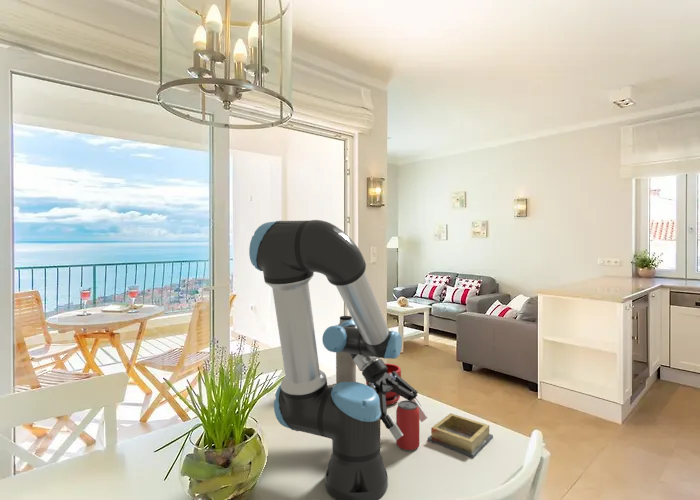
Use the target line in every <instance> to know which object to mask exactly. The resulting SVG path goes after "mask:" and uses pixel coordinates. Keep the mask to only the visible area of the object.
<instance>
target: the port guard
mask: <svg viewBox="0 0 700 500" xmlns="http://www.w3.org/2000/svg"><path fill="white" fill-rule="evenodd" d="M430 430H431V435H429V436H428V437H427V441H428V442H430V443H433V444H435V445H439V446H441V447H444V448H446V449H448V450H452V451H453V452H456V453H459V454H462V455H464V456H468V457H469V458H472V459H474V458H475V457H476V456H477V455H478V454H479V453H480V452H481V451H482V450H483V448H485V446H486V445H488V443H489V442H491V441H492V439H494V435H493V434H490V425H489V424H486V423H484V422H480V421H476V420H474V419H471V418H467V417H464V416H461V415H458V414H455V413H449V414H447V415H446V416H445V417H444V418H442V419H441V420H440V421H439V422H437V423H436V424H434V425H433V426H432V427H431V428H430Z"/></svg>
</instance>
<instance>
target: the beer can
mask: <svg viewBox="0 0 700 500" xmlns="http://www.w3.org/2000/svg"><path fill="white" fill-rule="evenodd" d="M417 406H418V405H417V403H415V402H413V401H409V400H407V399H405V400H401V401H399V402H398V403H397V408H396V410H395V411H396V412H395V416H396V417H395V420H396V421H395V422H396V424H397V426H398V427H399V429H400V430H401V432H402V433H403V436H401V437H400V438H399V439H398V440H395V441H396V442H395V443H396V445H397V447H398V448H399V449H401V450H403V451H408V452H409V451H415V450H417V449H418V448H419V446H420V419H419V409H418V407H417Z"/></svg>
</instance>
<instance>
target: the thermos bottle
mask: <svg viewBox="0 0 700 500" xmlns="http://www.w3.org/2000/svg"><path fill="white" fill-rule="evenodd" d="M348 320H353V318H352V316H351V315H341V316H339V323H338V324H337V325H338V326H340V325H341V324H342V323H343V322H345V321H348ZM356 366H357V365H356V363H355V362H354V360H353V359H352V358H351V356H350V355H349V353H343V352H339V353H336V352H335V372H336V373H335V374H336V375H335V377H336V378H335V382H336V384H338V383H340V382H357V367H356ZM336 384H335V385H336Z"/></svg>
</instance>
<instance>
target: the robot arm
mask: <svg viewBox="0 0 700 500" xmlns="http://www.w3.org/2000/svg"><path fill="white" fill-rule="evenodd" d="M248 250H249V253H248V256H249V260H250V262H251V265H252V266H253V267H254V268H255V269H256V270H258V271H259V272H262V273H263V278H264V279H263V280H264V283H265V284H266V285H268V286H269V287H271V289H272V297H273V301H274V302H273V303H274V308H275V315H276V323H277V330H278V335H279V341H280V343H279V344H280V348H281V356H282V363H283V368H284V374H285V376H284V377H283V378H282V379H281V380H280V384H279V386H278V388H276V391H275V393H274V396H275V399H274V400H273V411H274V415H275V418H276V420H277V421H278V423H279V424H280V425H281V426H283V427H285V428H287V429H290V430H292V431H295V432H302V433H306V434H311V435H314V436H319V437H323V438H328V439H331V443H332V444H331V445H332V446H331V447H332V448H331V449H332V450H331V451H332V452H331V456H330V458H329V462H328V465H327V469H326V472H325V477H324V478H325V481H324V484H325V490H326V491H327V493H328V495H330V496H331V498H333V499H335V500H379V499H380V498H382V497H383V496H384V494H385V493H386V492H387V490H388V488H389V487H388V486H389V485H388V484H389V483H388V480H389V479H388V478H389V476H388V472H387V469H386V467H385V464H384V461H383V457H382V454H381V421H382V423H383V425H384V426H385V428H386V429H387V430H389V432H390V433H391V435H392V437H393V438H394V439H395V441H396V440H398V439H399V438H400V437H401V436H403V433H402V432H401V430H400V429H399V427H398V426H397V424H396V421H395V420H394V418H393V416H392V415H391V413H388V411H387V405H386V396H385V394H386V393H388V392H390V391H391V392H395V393H396V394H398V395H400V397H401V398H404V399H405V400H408V401H413V402H415V403H417V405H418V406H417V407H418V409H419V422H421V423H423V422H424V421H425V420H427V419H428V418H429V415H428V414H427V413H426V411H425V410H424V409H423V407H422V405H421V403H420V402H419V400H418V399H417V397H418V391H417V390H416V389H415V388H414V387H413V386H412V385H410V384H409V383H408V382H407V381H405V379H403V378H402V376H401V377H399V375H398V374H397V373H396V372H395V371H393V372H392V373H391V374H390V375H389V374H388V373H387V366H386V365H385V364H386V362H384V360H386V359H390V360H391V359H392V360H395V359H398V358H399V356H400V354H401V352H402V347H403V340H402V335H401V334H400V332H398V331H394V330H389V328H388V325H387V322H386V321H385V318H384V316H383V313H382V311H381V309H380V306H379V303H378V301H377V298H376V296H375V293H374V291H373V290H372V289H373V288H372V285H371V284H370V282H369V279H368V277H367V274H366V269H367V263H366V261H365V258H364V255H363V254H362V252H361V250H360V248H359V247H358V246H357V244H356V243H355V242H354V241H353V239H352V238H351V237H350V236H349V235H348V234H347V233H345V232H344V231H343V230H342V229H340V227H338V226H336V225H334V224H333V223H331V222H328V221H325V220H320V219H312V220H275V221H267V222H264V223H262V224H261V225H260V226H258V227H257V228H256V229H255V231H254V233H253V235H252V236H251V240H250V242H249V248H248ZM314 273H319V274H321V275H324V276H325V277H326V279H327V281H328V282H329V283H330V284H331V285H333V286H335V287H336V289H337V292H338V293H339V295H340V296H341V298H342V299H341V300H342V302H344V304H345V306H346V308H347V310H348V313H349V315H350V316H351V317H352V319H351V320H348V321H345V322H343V323H342V324H341V325H340V326H338V324H336V325H331V326H328V327H326V329H325V330H324V332H323V334H322V337H321V338H322V344H323V345H322V346H323V347H324V348H325V349H326V351H329V352H330V353H331V352H332V353H335V354H336V353H339V352H343V353H349V355H350V356H351V358H352V359H353V360H354V362H355V363H356V366H357V367H356V368H358V369H359V371H361V375H362V377H363V378H364V380H365V382H366V381H367V382H368V383H369V384H365V383H361V382H357V381H356V382H340V383H338V384H334V386H329V385H328V379H327V375H326V373H325V372H324V371H323V370H321V369H320V365H319V356H318V349H317V340H316V333H315V325H314V316H313V309H312V301H311V293H310V292H311V291H310V286H309V282H310V281H311V280H312V278H313V277H314V275H315V274H314ZM381 358H382V359H381ZM383 359H384V360H383Z"/></svg>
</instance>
